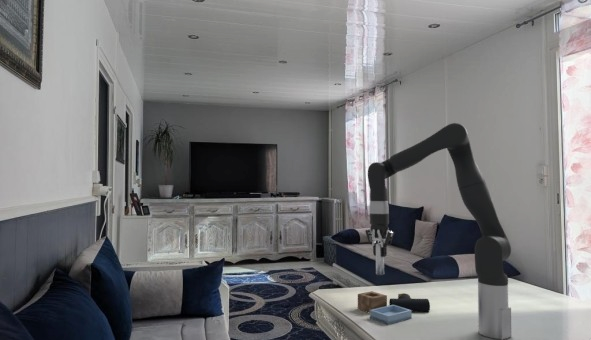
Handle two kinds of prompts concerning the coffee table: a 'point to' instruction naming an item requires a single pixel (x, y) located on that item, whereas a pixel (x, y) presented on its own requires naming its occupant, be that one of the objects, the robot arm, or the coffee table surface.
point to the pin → (379, 260)
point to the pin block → (371, 301)
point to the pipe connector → (411, 303)
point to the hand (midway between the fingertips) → (379, 255)
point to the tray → (390, 314)
